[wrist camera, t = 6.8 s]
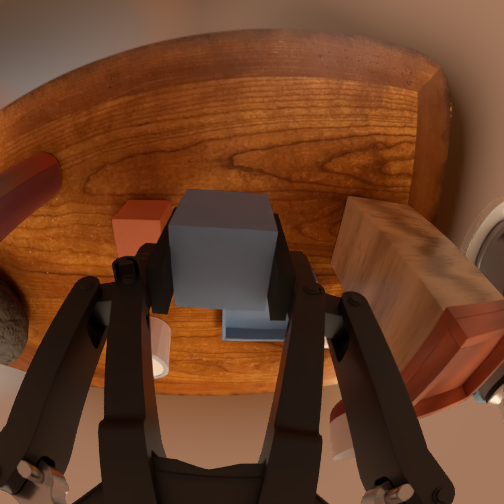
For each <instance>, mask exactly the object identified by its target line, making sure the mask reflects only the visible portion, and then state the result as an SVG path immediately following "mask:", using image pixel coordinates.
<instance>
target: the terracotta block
mask: <svg viewBox="0 0 504 504" xmlns="http://www.w3.org/2000/svg"><path fill="white" fill-rule="evenodd" d="M171 214H172V203H171V200H128V201H127V202H126V203H125V205H124V206H123V207H122V208H121V209H120V210H119V211H118V212H117V214H116V215H115V216H114V217H113V218H112V225H113V231H114V237H115V243H116V249H117V254H118V258H120V257H123V256H134V257H135V255H136V254H137V251H138V249H139V248H140V247H141V246H142V245H144V244H145V243H157V241H158V239H159V237H160V235H161V233H162V231H163V229H164V227H165V225H166V223H167V221H168V220H169V218H170V216H171Z"/></svg>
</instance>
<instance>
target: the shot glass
mask: <svg viewBox="0 0 504 504" xmlns="http://www.w3.org/2000/svg"><path fill="white" fill-rule="evenodd" d="M150 327H151V349H152V364H153V376H154V378H161V377H164V376H166V374H167V373H168V369H169V354H170V341H171V329H170V327H169V325H168V324H167V323H165V322H164V321H163V320H161V319H159V318H157V317H152V316H150Z"/></svg>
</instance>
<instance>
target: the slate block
mask: <svg viewBox="0 0 504 504" xmlns="http://www.w3.org/2000/svg"><path fill="white" fill-rule="evenodd" d="M168 231H169V246H170V253H171V266H172V278H173V288H174V292H173V293H174V302H175V306H180V307H193V308H207V309H222V310H241V311H265V307H266V301H267V294H268V288H269V283H270V277H271V271H272V265H273V259H274V253H275V248H276V242H277V236H278V230H277V226H276V222H275V218H274V215H273V211H272V207H271V204H270V200H269V196H268V194H261V193H248V192H234V191H218V190H199V189H187V190H186V192H185V194H184V196H183V198H182V199H181V201H180V203H179V205H178V207H177V209H176V211H175V213H174V215H173V217H172V219H171V221H170V223H169V225H168Z"/></svg>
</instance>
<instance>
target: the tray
mask: <svg viewBox="0 0 504 504" xmlns="http://www.w3.org/2000/svg"><path fill="white" fill-rule="evenodd" d="M311 270H312V272H313V275H314V278H315V281H316V283H318V280H317V277H316V275H315V272H314V270H313V269H311ZM288 320H289V319H288V313H287V317H286V321H270V316H269V307H268V299H267V301H266V307H265V311H241V310H223V314H222V340H227V341H284V340H285V337H284V335H285V331H286V328H287V324H288Z"/></svg>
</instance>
